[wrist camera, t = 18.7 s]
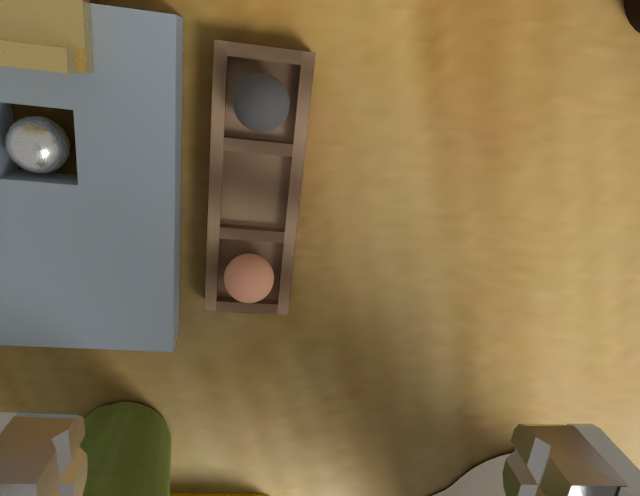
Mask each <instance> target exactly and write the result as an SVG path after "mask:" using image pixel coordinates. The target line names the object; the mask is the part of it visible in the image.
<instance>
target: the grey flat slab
mask: <svg viewBox="0 0 640 496" xmlns="http://www.w3.org/2000/svg"><path fill="white" fill-rule="evenodd" d="M90 5H91V26H92V46H93V67H94V73H69V74H67V73H58V72H50V71H41V70H32V69H23V68H15V67H6V66H0V345H4V346H30V347H55V348H80V349H106V350H131V351H156V352H174V348H175V345H176V342H177V339H178V336H179V309H180V236H181V164H182V91H183V19H184V18H182V17H180V16H178V15H175V14H168V13H161V12H153V11H146V10H138V9H131V8H123V7H116V6H108V5H101V4H94V3H90ZM12 104H21V105H31V106H40V107H50V108H59V109H69V110H73V113H74V128H75V144H76V159H77V175H72V174H61V173H49V172H48V173H35V172H30V171H26V170H19V167H18V165H17V164H16V163H15V162H14V161H13V160H12V159H11V157H10V156H9V154H8V152H7V149H6V144H5V138H6V134H7V131H8V129H9V128H10V126H11V125H12V124H13V123H14V121H13V112H12Z"/></svg>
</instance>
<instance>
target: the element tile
mask: <svg viewBox="0 0 640 496" xmlns="http://www.w3.org/2000/svg"><path fill="white" fill-rule="evenodd" d="M170 496H267V495H264V494H170Z"/></svg>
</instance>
